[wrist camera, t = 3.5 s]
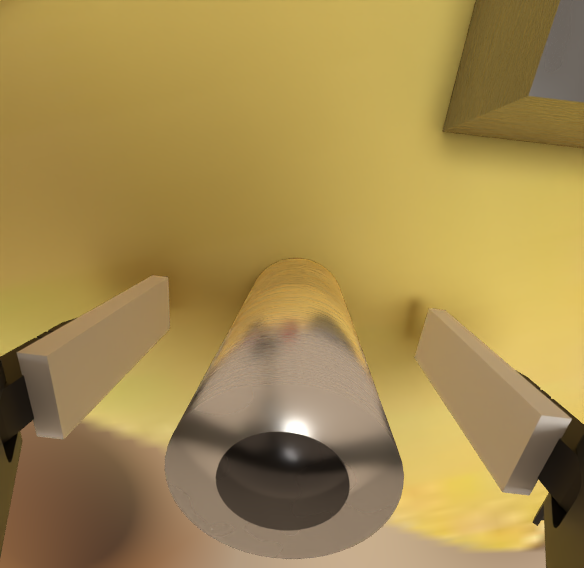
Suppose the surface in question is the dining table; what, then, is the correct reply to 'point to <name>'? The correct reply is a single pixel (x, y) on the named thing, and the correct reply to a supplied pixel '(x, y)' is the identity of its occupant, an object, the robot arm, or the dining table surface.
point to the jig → (522, 73)
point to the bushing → (287, 427)
